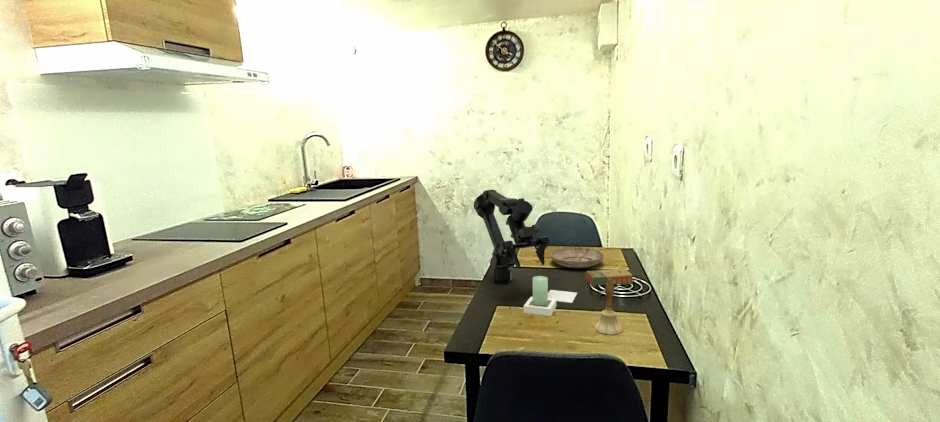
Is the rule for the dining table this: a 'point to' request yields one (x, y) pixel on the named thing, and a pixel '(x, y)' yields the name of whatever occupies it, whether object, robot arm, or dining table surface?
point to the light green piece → (540, 291)
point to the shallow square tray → (540, 308)
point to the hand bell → (608, 314)
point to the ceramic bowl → (576, 257)
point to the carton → (609, 276)
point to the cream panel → (562, 296)
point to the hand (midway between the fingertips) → (531, 266)
